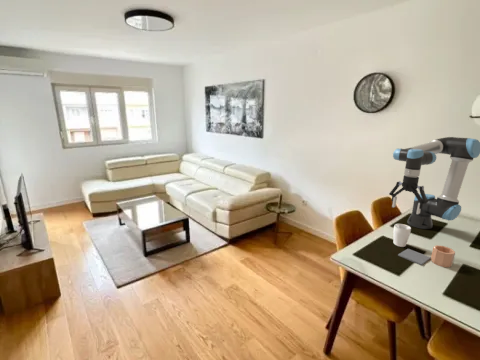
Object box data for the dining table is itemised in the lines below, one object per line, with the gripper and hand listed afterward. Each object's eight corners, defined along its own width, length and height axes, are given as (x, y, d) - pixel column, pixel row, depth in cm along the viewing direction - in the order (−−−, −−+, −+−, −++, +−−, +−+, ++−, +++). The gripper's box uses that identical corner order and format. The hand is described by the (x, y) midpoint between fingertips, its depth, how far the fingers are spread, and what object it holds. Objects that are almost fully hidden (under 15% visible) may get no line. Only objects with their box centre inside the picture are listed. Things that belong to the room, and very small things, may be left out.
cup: (410, 248, 157) (413, 230, 154) (394, 247, 159) (397, 229, 156) (404, 241, 166) (407, 224, 163) (389, 240, 168) (391, 222, 165)
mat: (407, 249, 156) (407, 248, 156) (430, 258, 147) (430, 257, 146) (397, 255, 150) (398, 254, 149) (421, 265, 140) (421, 264, 140)
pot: (435, 256, 149) (437, 244, 147) (453, 263, 142) (457, 250, 140) (428, 261, 144) (431, 248, 142) (447, 269, 137) (450, 255, 135)
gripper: (386, 172, 160) (381, 205, 165) (433, 181, 140) (426, 218, 145) (392, 171, 164) (387, 203, 169) (439, 179, 144) (431, 215, 149)
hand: (405, 210), depth 157 cm, fingers open, 13 cm apart
